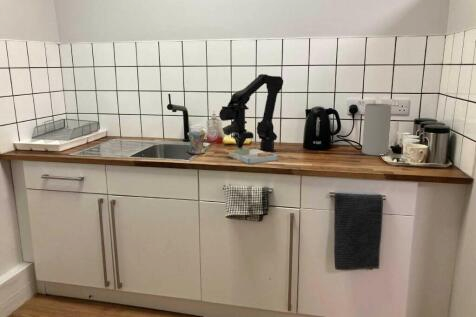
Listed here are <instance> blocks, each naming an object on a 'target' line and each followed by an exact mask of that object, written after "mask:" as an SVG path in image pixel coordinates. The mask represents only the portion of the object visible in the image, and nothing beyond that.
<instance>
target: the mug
mask: <svg viewBox="0 0 476 317" xmlns="http://www.w3.org/2000/svg"><path fill="white" fill-rule="evenodd" d="M205 135H206V132H205V131H189V132H187V136H188V139H189V144H190V146H189V150H188V153H189V154H192V155H200V154H204V153H205V152H206V150H205V147H204V146H205V145H204V141H205V140H204V138H205Z"/></svg>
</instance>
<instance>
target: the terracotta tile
mask: <svg viewBox="0 0 476 317" xmlns="http://www.w3.org/2000/svg"><path fill="white" fill-rule="evenodd" d="M270 153H271V152H270ZM270 153H267V152H264V153H258V157H266V156H272V154H273V153H272V154H270Z"/></svg>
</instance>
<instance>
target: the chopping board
mask: <svg viewBox="0 0 476 317" xmlns="http://www.w3.org/2000/svg"><path fill="white" fill-rule="evenodd" d="M258 153H264V151H261V150H259V149H258V148H252V149H250V154H243V155H241V156H244V157H246V158H257V157H258ZM239 155H240V154H237V153H236V150H235V151H229V152H228V156H229V157H231V158H234V159H235V160H238V161H240V160H239Z"/></svg>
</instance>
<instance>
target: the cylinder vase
mask: <svg viewBox="0 0 476 317" xmlns="http://www.w3.org/2000/svg"><path fill="white" fill-rule="evenodd" d="M392 106H393V105H392V104H388V103H365V104H364V116H363V130H362V133H363V134H362V146H361V152H362V154H364V155H368V156H376V157H377V156H378V157H379V156H380V154H385V153H387V154H388V150H389V138H390V128H391V117H392V116H391V115H392ZM380 157H381V156H380Z"/></svg>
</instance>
